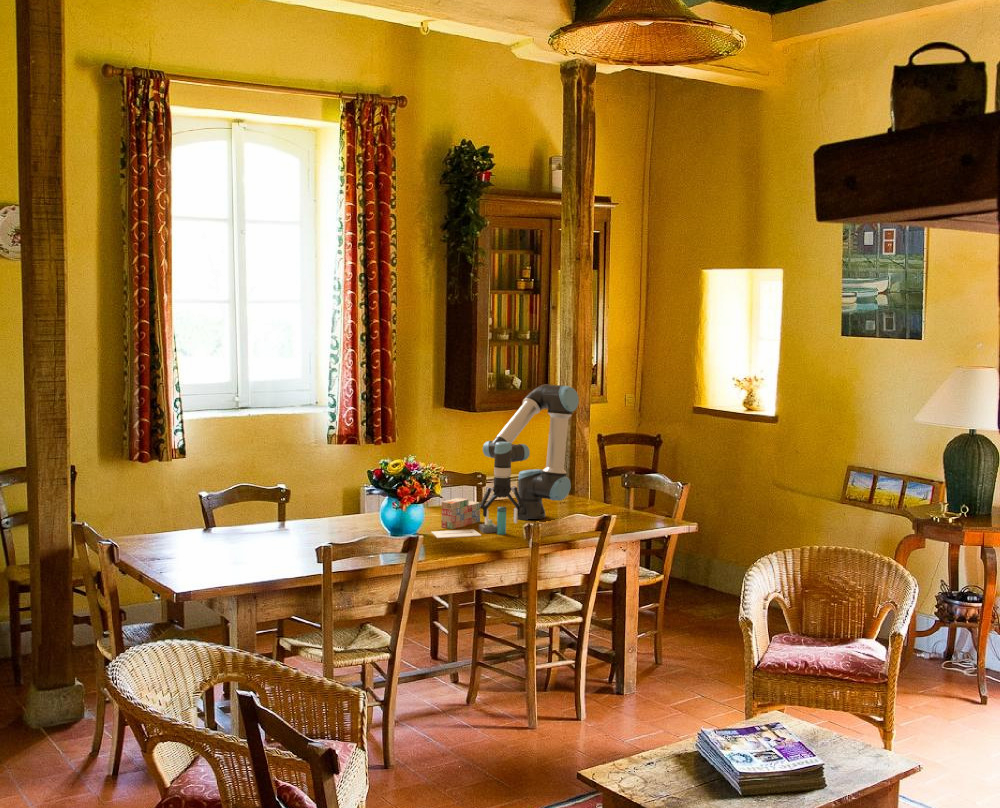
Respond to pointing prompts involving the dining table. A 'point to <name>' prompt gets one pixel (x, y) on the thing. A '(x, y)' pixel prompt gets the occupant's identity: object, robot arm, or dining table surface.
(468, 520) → the stack of blocks
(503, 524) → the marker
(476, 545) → the dining table surface
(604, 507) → the dining table surface
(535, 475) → the robot arm
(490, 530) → the block
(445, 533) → the sheet
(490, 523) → the button
